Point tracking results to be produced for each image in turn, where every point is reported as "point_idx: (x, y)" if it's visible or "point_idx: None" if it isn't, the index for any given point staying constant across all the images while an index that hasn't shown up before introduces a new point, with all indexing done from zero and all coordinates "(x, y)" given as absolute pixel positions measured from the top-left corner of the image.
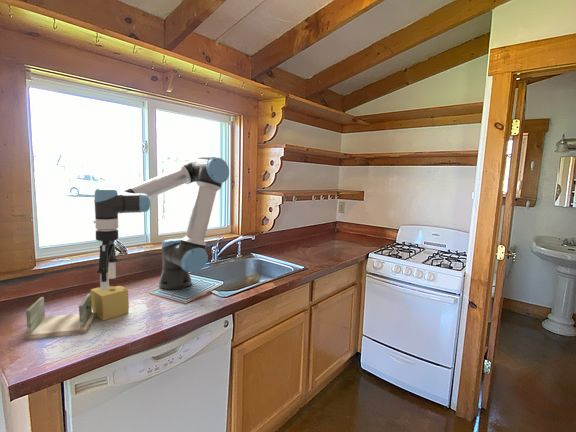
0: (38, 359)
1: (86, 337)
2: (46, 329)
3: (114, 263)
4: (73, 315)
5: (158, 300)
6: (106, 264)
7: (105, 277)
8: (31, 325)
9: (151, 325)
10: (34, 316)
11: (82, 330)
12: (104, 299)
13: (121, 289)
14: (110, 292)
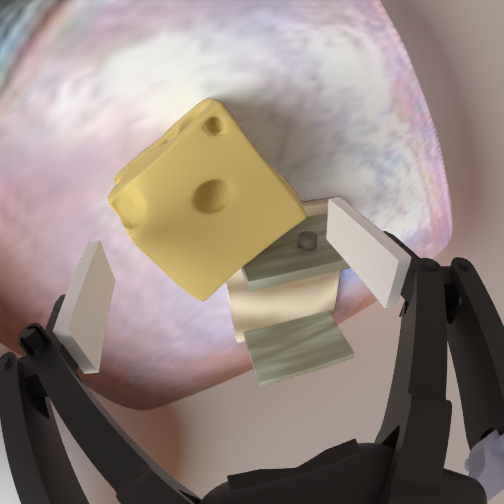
0: (413, 242)
1: (366, 186)
2: (318, 294)
3: (71, 325)
4: (237, 278)
5: (77, 21)
6: (489, 298)
7: (406, 248)
8: (333, 323)
9: (337, 10)
10: (319, 340)
11: None
12: (298, 199)
13: (214, 144)
14: (257, 193)
